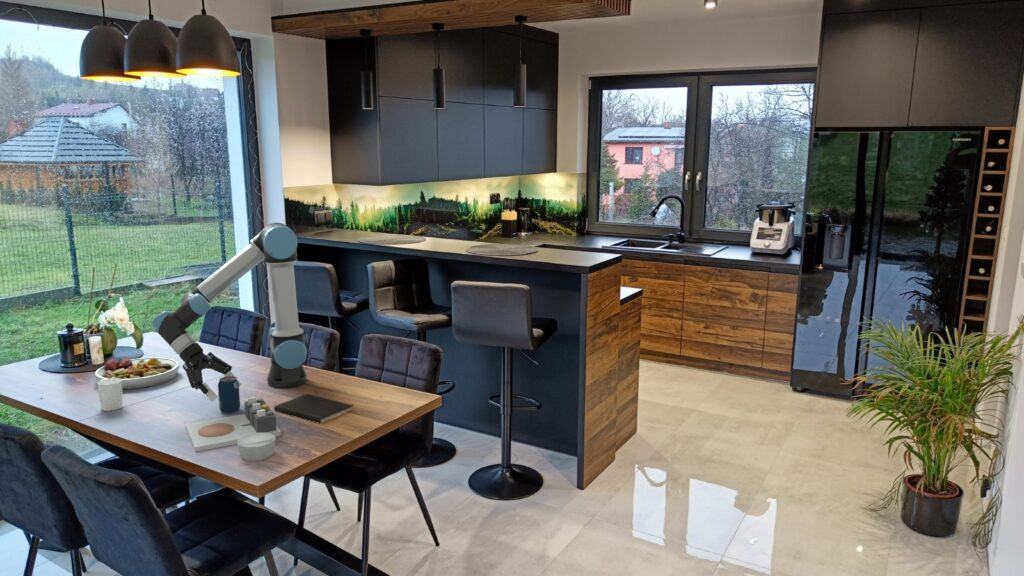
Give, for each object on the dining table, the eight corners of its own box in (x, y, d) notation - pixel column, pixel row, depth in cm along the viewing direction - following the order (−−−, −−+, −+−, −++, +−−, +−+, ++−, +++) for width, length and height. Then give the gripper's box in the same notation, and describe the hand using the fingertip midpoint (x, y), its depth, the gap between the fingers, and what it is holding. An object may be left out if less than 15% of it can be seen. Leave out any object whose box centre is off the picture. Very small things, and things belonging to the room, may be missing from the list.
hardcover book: (308, 399, 273) (308, 393, 273) (353, 411, 261) (353, 405, 261) (274, 412, 260) (274, 405, 259) (320, 425, 248) (319, 418, 247)
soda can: (244, 409, 261) (242, 377, 258) (230, 415, 254) (227, 382, 252) (230, 406, 263) (228, 374, 261) (215, 412, 257) (213, 380, 255)
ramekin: (257, 466, 215) (256, 449, 214) (229, 459, 219) (228, 442, 218) (284, 452, 225) (283, 436, 224) (256, 445, 229) (256, 429, 228)
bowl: (194, 371, 305) (193, 353, 304) (147, 394, 276) (145, 374, 275) (131, 366, 310) (129, 349, 309) (78, 389, 281) (76, 369, 280)
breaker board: (265, 414, 256) (264, 392, 254) (280, 435, 237) (279, 411, 236) (185, 428, 242) (183, 404, 241) (195, 451, 224) (193, 426, 222)
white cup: (100, 413, 255) (97, 386, 253) (98, 406, 262) (96, 379, 260) (125, 409, 259) (122, 382, 258) (123, 402, 266) (121, 376, 264)
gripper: (204, 346, 271) (241, 388, 270) (156, 365, 247) (197, 411, 246) (215, 333, 269) (253, 376, 268) (169, 351, 245) (210, 397, 244)
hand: (227, 392), depth 257 cm, fingers open, 13 cm apart
